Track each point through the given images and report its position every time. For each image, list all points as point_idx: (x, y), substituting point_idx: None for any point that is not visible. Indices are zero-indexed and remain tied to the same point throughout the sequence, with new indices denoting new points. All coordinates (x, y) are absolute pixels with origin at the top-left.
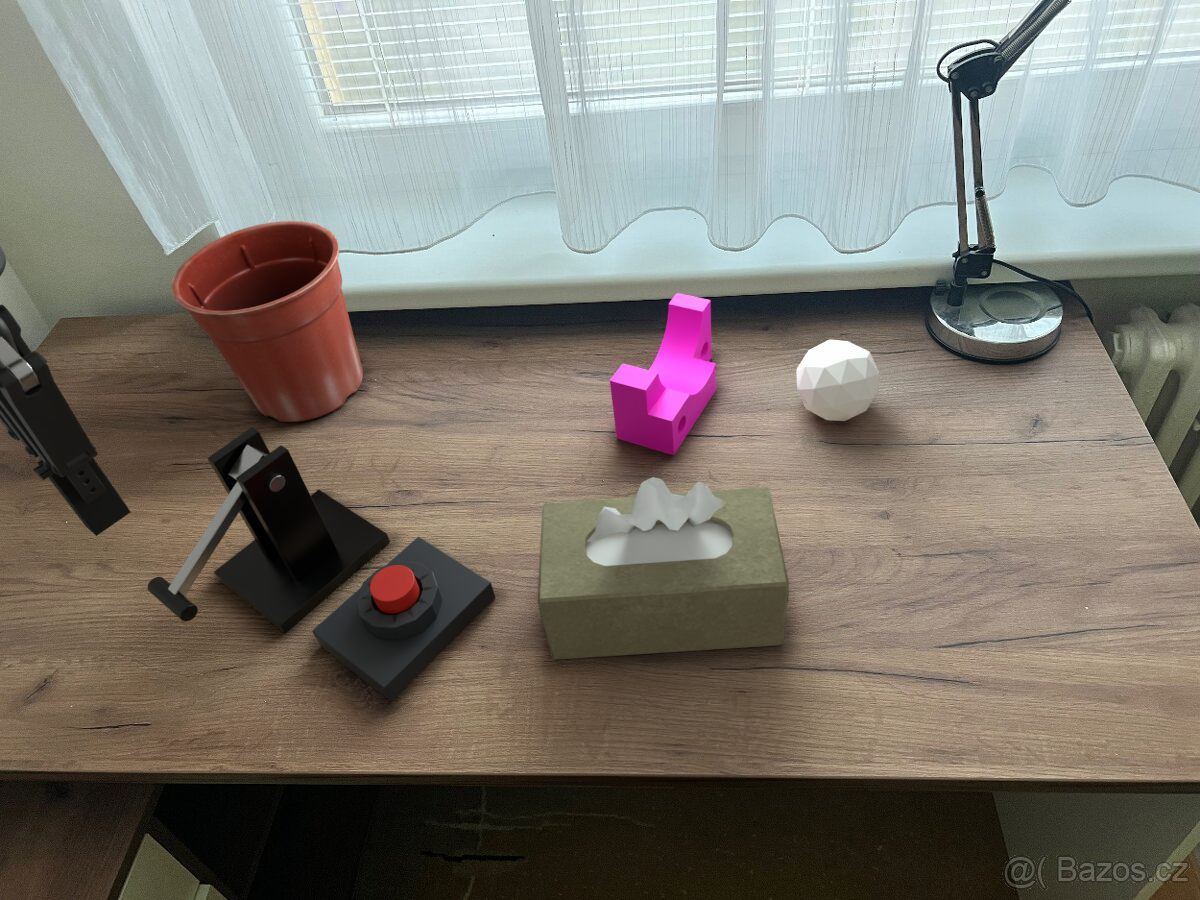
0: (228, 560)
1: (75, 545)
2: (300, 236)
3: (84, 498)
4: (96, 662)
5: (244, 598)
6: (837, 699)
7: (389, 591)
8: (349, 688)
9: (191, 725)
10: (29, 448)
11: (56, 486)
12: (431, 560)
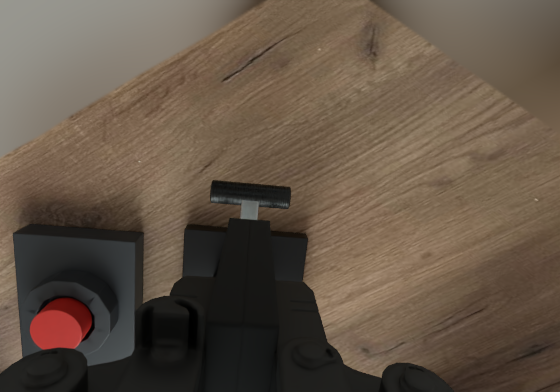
0: (305, 256)
1: (498, 184)
2: None
3: (180, 284)
4: (341, 98)
5: None
6: None
7: (48, 323)
8: (78, 213)
9: (183, 103)
10: (280, 375)
11: (255, 277)
12: (97, 359)
